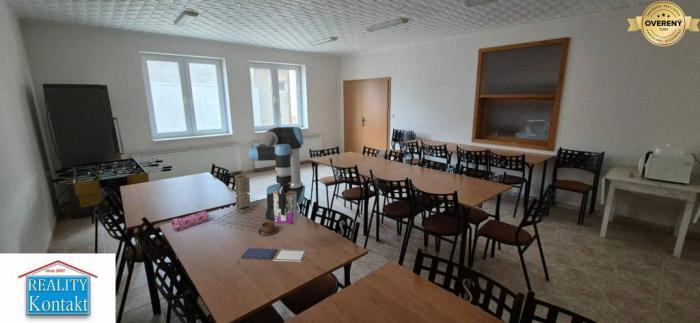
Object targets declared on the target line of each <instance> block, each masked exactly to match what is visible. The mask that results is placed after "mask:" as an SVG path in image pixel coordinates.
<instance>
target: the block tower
mask: <svg viewBox="0 0 700 323" xmlns="http://www.w3.org/2000/svg"><path fill="white" fill-rule="evenodd" d="M234 184H235V185H234V186H235V195H236V196H235V205H236V212H237V213H239V214H240V215H241V214H247V213H249V212H251V209H252V208H251V207H250V206H251V195H250V194H249V193H251V191H250V188H251V187H250V186H251V185H250V176H249V177H248V176H247V175H246V174H244V173H242V174H237V175H236V174H235V175H234Z"/></svg>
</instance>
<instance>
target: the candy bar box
mask: <svg viewBox="0 0 700 323" xmlns="http://www.w3.org/2000/svg"><path fill="white" fill-rule="evenodd" d="M284 194H285V193H284ZM285 200H286V203H285V208H286V218H287V220H286V221H281V210H280V209H279V203H278V190H277V191H275V192H273V203H274V221H273V223H276V224H286V225H295V224H296V223H297V222H298V203H297V195H296V192H292V191H287V193H286V195H285Z"/></svg>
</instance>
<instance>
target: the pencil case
mask: <svg viewBox="0 0 700 323" xmlns="http://www.w3.org/2000/svg"><path fill="white" fill-rule="evenodd" d="M209 216H210V215H209V214H208V212H207V211H206V210H201V211H200V212H198V213H194V214H190V215H187V216H185V217H183V218H182V217H181V218H173V219H172V220H171V221H170V222H171V223H170V224H171V226H172V229H173V230H174V231H175V232H176V233H177V232H180V231H183V230H186V229H188V228H191V227H194V226H196V225H201V224H204V223H208V222H209V221H210V220H209Z"/></svg>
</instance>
